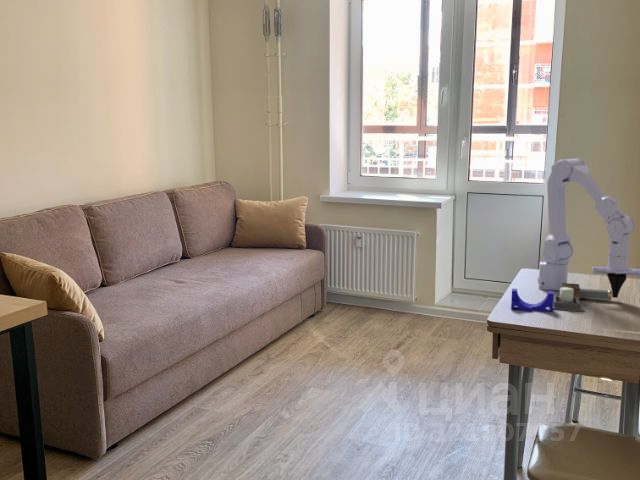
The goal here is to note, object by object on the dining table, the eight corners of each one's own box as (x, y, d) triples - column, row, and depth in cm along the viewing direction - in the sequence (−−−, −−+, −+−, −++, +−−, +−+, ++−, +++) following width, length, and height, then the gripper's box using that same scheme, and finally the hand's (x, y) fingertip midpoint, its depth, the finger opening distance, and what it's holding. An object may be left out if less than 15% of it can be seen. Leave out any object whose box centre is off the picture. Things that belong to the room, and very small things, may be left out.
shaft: (565, 297, 216) (565, 288, 215) (564, 295, 219) (565, 286, 218) (611, 301, 212) (611, 291, 211) (609, 298, 215) (610, 289, 214)
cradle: (549, 309, 205) (549, 302, 204) (548, 300, 214) (548, 294, 214) (584, 311, 202) (584, 305, 201) (581, 302, 211) (582, 296, 211)
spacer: (559, 306, 206) (560, 290, 205) (558, 302, 210) (559, 287, 209) (573, 306, 205) (574, 291, 204) (571, 303, 209) (572, 287, 208)
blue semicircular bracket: (510, 311, 203) (511, 292, 202) (511, 307, 208) (512, 288, 207) (552, 314, 200) (553, 295, 199) (551, 310, 204) (553, 291, 203)
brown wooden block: (562, 300, 214) (563, 287, 214) (561, 294, 220) (562, 283, 220) (579, 301, 213) (580, 289, 212) (577, 295, 219) (578, 284, 218)
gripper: (594, 256, 208) (591, 298, 211) (645, 258, 204) (641, 301, 207) (592, 251, 215) (589, 292, 218) (641, 254, 211) (638, 295, 214)
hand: (614, 296), depth 213 cm, fingers closed
